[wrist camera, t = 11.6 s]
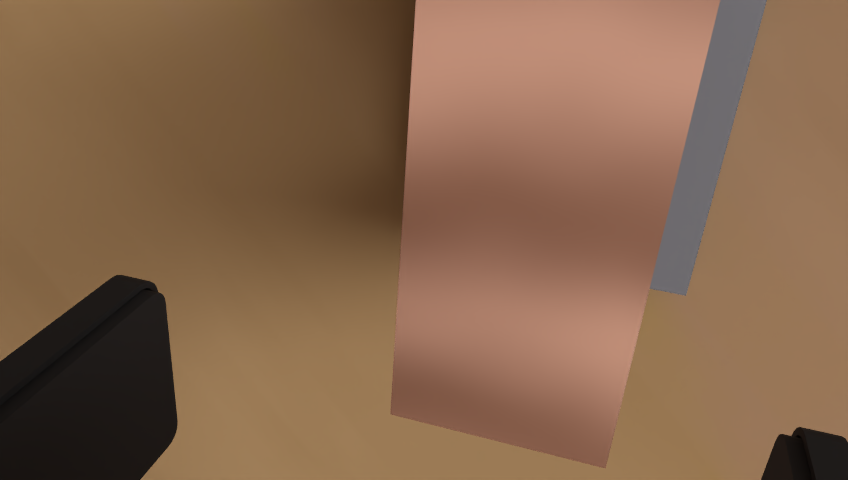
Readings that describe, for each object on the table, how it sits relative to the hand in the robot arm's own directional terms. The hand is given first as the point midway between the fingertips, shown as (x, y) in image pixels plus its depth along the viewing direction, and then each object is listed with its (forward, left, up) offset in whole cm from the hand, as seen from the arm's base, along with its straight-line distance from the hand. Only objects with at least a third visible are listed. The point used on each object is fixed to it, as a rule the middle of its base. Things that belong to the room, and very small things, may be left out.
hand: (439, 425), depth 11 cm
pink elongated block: (0, 0, -11) cm, 11 cm away
